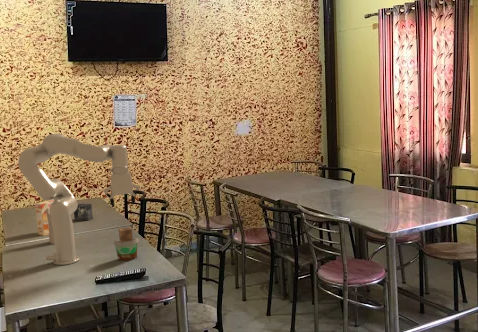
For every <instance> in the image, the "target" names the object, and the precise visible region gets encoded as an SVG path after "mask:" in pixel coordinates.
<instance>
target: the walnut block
mask: <svg viewBox="0 0 478 332" xmlns="http://www.w3.org/2000/svg"><path fill="white" fill-rule="evenodd" d="M118 234H119V237H118V238H119V241H121V242H125V241H132V240H133V239H134V238H133V229H132V228H131V227H130V226H128V227H127V226H126V227H120V228H118Z"/></svg>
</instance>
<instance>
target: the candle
mask: <svg viewBox="0 0 478 332" xmlns="http://www.w3.org/2000/svg"><path fill="white" fill-rule="evenodd" d="M47 218H48V224H49V235H48V237H49V238H48V239H49V244H52V245H53V244H54V245H55V243H54V233H53V225H52V220H51V216H50V208H47Z"/></svg>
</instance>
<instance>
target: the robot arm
mask: <svg viewBox="0 0 478 332" xmlns="http://www.w3.org/2000/svg"><path fill="white" fill-rule="evenodd" d="M57 154H60V155H65V156H71V157H74V158H77V159H79V160H83V161H88V162H95V163H103V162H105V161H109V160H111V168H109V173H111V175H110V185H109V186H108V187H106V188H105V189H103V192H104V194H105V195H106V196H107V198H109V202H110V203H109V204H110V206H111V207H113V208H115V199H114V197H115V196H116V195H117V196H118V195H128V194H131V196H130V199H131V200H130V201H131V204H132V205H135V203H136V195H137V194H138V193H139V190H140V186H139V185H137V184H134V183H133V178H132V174H131V172H130V171H129V158H128V148H127V145H125V144H116V145H115V144H114V145H113V144H102V145H98V146H97V145H90V144H88V143H87V144H86V143H83V142H81V141H80V140H79V139H77V138H74V137H68V136H65V135H63V134H62V133H53V134H52V133H51V134H48V135H46V136H45V137H44V138H43V140H42V143H40V144H38V145H36V146H32V147H28V148H26V149H24V150H23V151H21V152H20V154H19V156H18V161H17V164H18V167H19V168H18V169H19V171H20V172H21V174H22V175H23V176H24V178H26V180H27V181H28V182H29V184H30V185H31V186H32V188H33V189H34V191H36V193H37V194H38V196H39V197H40V198H41V199H42V200H43V201H49V200H54V202H53V203H52V204H51V206H50V216H51V220H52V225H53V233H54V243H55V244H54V250H55V252H54V254H52V255H46V256H45V259H46V260H47V261H52V263H53V264H54V265H58V266H63V265H65V266H66V265H71V264H75V263H77V262H79V261H80V256H79V255H77V254H76V253H77V252H76V240H75V231H74V224H73V220H72V215H73V214H74V212H75V211H76V209H77V206H78V204H79V203H78V200H77V199H76V197H75V196H74V195H73V193H72V192H71V190H70V189H69V188H68V186H67V185H65V183H64V182H63V181H62V180H60V179H57V178H50V177H49V176H48V175H47V173H46V172H45V171H44V170H43V169H42V168H41V167H40V166H38V164H42V163H44V162H46V161H48V160H49V159H52V157H54V156H55V155H57ZM134 188H135V190H134ZM109 191H110V192H111V193H109Z"/></svg>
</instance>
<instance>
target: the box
mask: <svg viewBox="0 0 478 332" xmlns="http://www.w3.org/2000/svg"><path fill="white" fill-rule="evenodd" d="M77 204H78V206H77V209H76V211H75V212H73V216H74V217H73V219H74V221H76V222H77V221H80V222H81V221H82V222H84V221H85V222H88V221H91V220H93V218H94V217H93V208H92V203H77Z"/></svg>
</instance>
